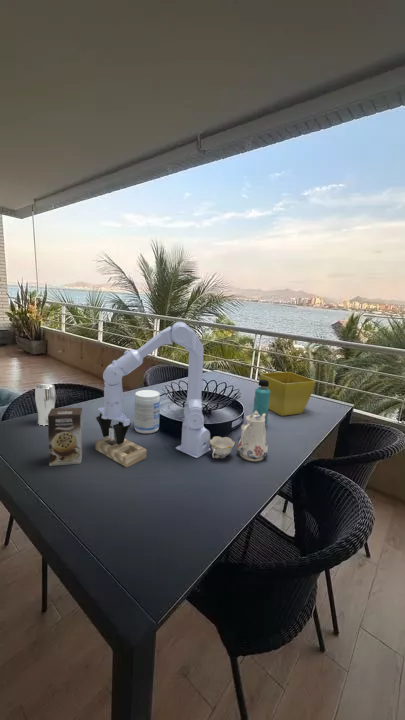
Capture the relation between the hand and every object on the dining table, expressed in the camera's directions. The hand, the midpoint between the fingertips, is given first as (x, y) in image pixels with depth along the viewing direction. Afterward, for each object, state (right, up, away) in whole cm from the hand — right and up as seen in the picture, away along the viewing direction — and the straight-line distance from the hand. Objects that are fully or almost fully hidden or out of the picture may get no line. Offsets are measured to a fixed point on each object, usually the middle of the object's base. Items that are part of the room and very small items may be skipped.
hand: (113, 439), depth 107 cm
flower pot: (+69, +2, +49) cm, 85 cm away
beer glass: (-31, +2, +18) cm, 36 cm away
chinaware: (+45, -6, +5) cm, 45 cm away
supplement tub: (+8, -1, +18) cm, 20 cm away
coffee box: (-12, -5, -7) cm, 15 cm away
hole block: (+3, -4, -2) cm, 5 cm away
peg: (0, -4, +1) cm, 4 cm away
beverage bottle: (+54, -1, +28) cm, 61 cm away
